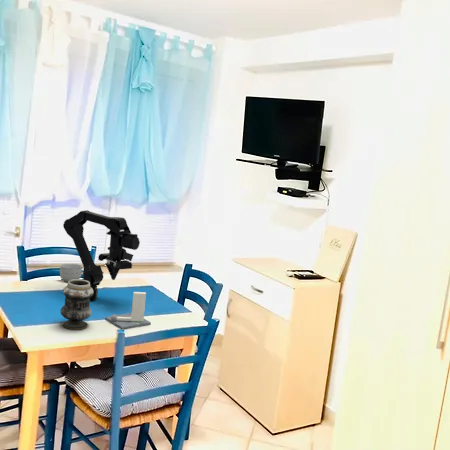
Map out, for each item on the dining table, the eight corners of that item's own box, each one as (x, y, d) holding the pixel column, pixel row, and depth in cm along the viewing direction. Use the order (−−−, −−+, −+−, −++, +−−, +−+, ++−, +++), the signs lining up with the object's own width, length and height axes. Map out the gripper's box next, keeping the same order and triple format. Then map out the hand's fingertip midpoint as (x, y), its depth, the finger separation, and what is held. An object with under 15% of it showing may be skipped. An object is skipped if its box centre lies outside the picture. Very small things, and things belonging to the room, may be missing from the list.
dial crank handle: (110, 318, 225) (113, 290, 223) (142, 320, 228) (145, 292, 226) (111, 320, 223) (113, 292, 221) (143, 322, 226) (146, 294, 224)
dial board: (105, 319, 227) (105, 316, 227) (132, 314, 237) (133, 312, 237) (122, 329, 218) (122, 327, 218) (150, 324, 228) (150, 322, 228)
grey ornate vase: (90, 331, 212) (94, 287, 209) (58, 330, 210) (61, 285, 207) (91, 320, 224) (94, 278, 221) (60, 319, 221) (64, 276, 218)
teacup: (61, 283, 268) (62, 268, 267) (56, 277, 277) (58, 262, 276) (89, 283, 274) (90, 268, 273) (84, 277, 284) (85, 262, 283)
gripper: (143, 249, 241) (140, 283, 243) (119, 240, 254) (117, 272, 256) (122, 250, 233) (119, 285, 235) (99, 241, 246) (96, 275, 248)
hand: (113, 279), depth 244 cm, fingers closed
